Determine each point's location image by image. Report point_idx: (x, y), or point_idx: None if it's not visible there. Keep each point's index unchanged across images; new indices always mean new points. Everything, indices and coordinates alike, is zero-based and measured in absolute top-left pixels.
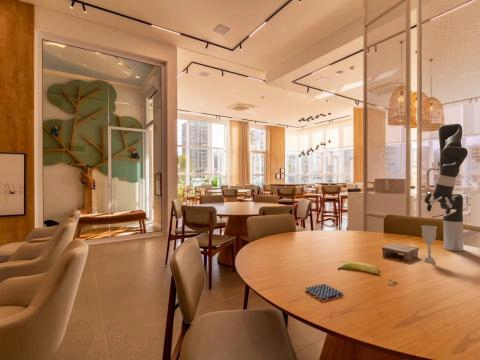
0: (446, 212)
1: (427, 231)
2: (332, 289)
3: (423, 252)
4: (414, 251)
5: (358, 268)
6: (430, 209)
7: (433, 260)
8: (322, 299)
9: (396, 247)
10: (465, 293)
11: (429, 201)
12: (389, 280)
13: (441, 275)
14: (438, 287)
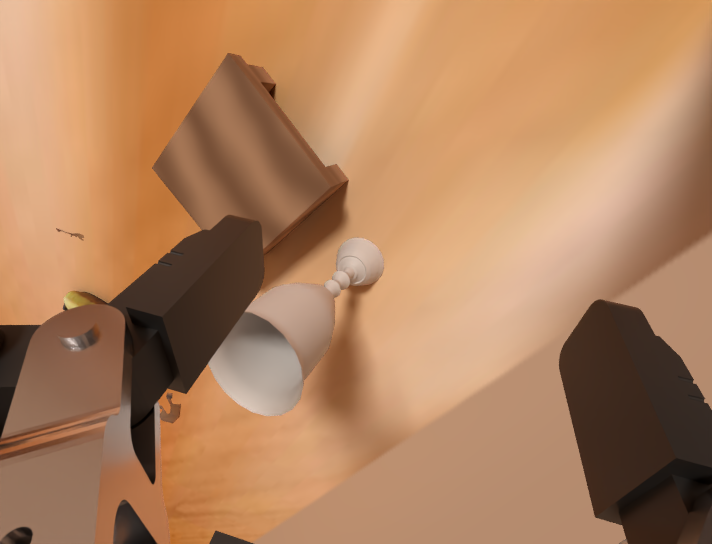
0: (579, 356)
1: (248, 369)
2: None
3: (451, 56)
4: (296, 221)
5: None
6: (235, 311)
7: (363, 284)
8: None
9: (216, 175)
10: (292, 494)
11: (35, 395)
12: (167, 396)
13: (307, 402)
14: (254, 456)
